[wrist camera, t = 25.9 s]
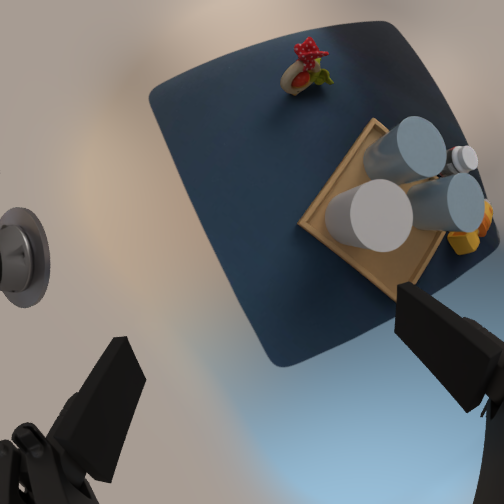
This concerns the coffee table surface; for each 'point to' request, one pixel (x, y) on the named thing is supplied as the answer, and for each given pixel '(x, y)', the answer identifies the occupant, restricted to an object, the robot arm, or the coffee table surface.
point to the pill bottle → (459, 161)
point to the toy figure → (471, 234)
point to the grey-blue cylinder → (447, 204)
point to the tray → (363, 260)
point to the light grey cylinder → (370, 216)
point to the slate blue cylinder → (406, 153)
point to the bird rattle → (305, 69)
